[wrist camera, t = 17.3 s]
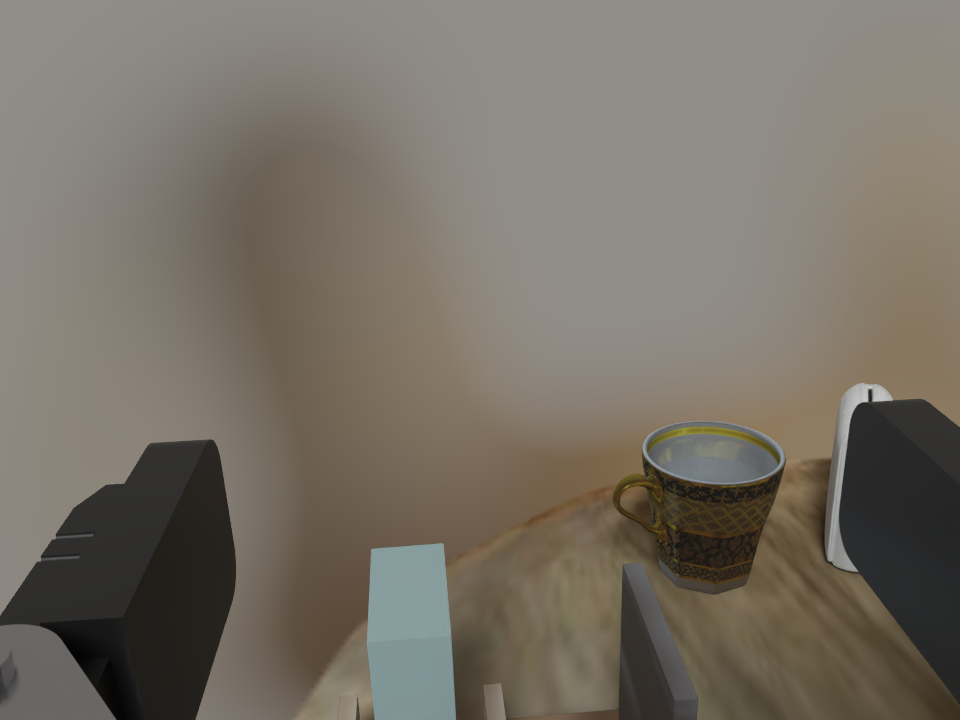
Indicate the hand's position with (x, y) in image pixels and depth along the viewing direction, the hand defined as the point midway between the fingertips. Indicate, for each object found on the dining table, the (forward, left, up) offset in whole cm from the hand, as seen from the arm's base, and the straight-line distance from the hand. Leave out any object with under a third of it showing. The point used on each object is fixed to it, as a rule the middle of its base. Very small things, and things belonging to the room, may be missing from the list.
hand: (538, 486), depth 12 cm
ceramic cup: (-17, -47, -35) cm, 61 cm away
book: (+3, -25, -33) cm, 41 cm away
